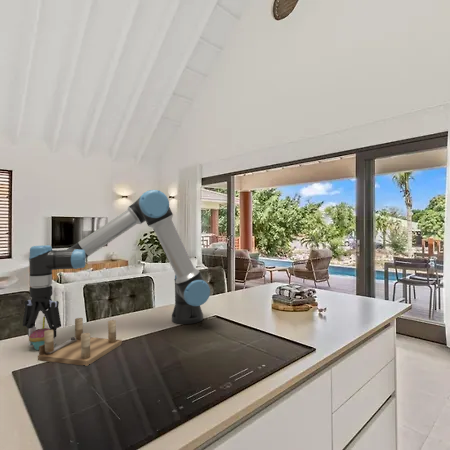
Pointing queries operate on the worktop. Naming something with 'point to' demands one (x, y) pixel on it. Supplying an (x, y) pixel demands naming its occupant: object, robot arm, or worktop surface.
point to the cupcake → (38, 336)
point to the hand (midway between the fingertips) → (42, 345)
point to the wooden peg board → (83, 347)
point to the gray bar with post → (50, 342)
